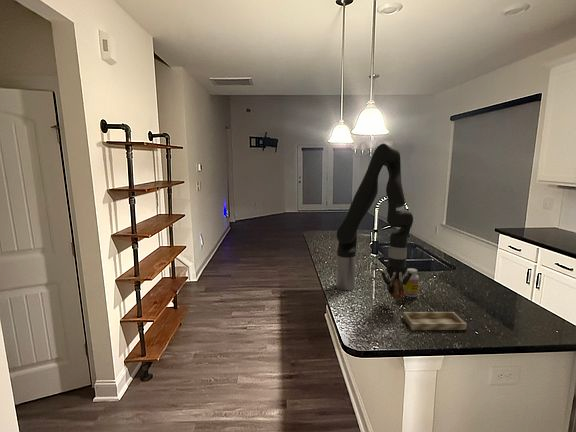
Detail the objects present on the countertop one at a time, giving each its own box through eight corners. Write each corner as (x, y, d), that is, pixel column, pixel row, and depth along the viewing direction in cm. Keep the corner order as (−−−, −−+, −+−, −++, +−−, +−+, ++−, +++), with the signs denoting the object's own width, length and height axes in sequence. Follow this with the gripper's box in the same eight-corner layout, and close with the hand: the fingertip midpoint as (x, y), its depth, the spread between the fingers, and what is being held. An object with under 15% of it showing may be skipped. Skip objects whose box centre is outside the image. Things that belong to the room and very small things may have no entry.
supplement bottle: (411, 298, 153) (412, 272, 151) (400, 293, 159) (401, 268, 157) (420, 296, 156) (422, 270, 154) (410, 291, 162) (411, 266, 160)
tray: (411, 329, 125) (412, 323, 125) (402, 317, 135) (403, 312, 135) (466, 329, 125) (466, 323, 125) (453, 317, 135) (453, 311, 135)
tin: (386, 289, 152) (386, 272, 151) (392, 289, 152) (393, 272, 151) (397, 303, 137) (397, 284, 136) (404, 303, 137) (405, 284, 136)
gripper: (383, 258, 138) (380, 296, 141) (416, 258, 138) (413, 297, 141) (379, 253, 146) (376, 289, 149) (410, 253, 145) (407, 290, 148)
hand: (394, 293), depth 145 cm, fingers closed on tin, 2 cm apart
